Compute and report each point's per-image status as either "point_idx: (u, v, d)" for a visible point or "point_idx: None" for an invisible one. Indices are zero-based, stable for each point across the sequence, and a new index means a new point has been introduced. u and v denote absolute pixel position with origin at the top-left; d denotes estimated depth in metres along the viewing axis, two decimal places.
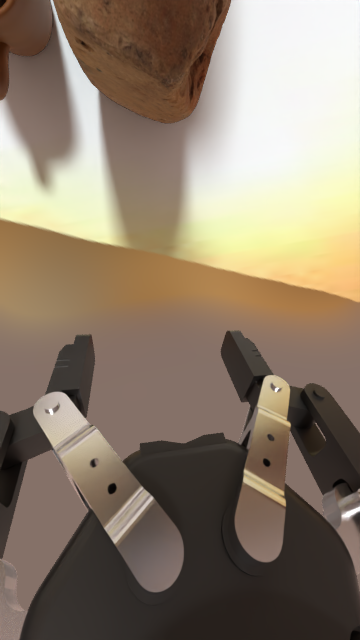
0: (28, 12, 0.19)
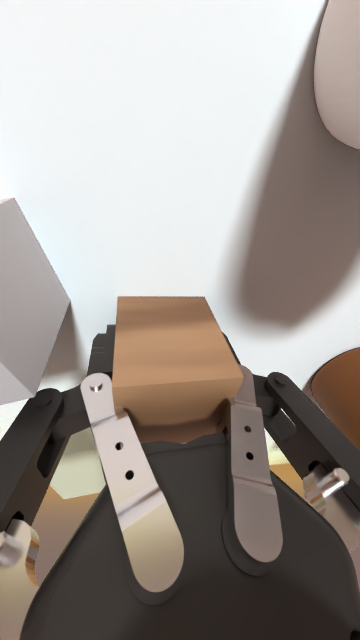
0: None
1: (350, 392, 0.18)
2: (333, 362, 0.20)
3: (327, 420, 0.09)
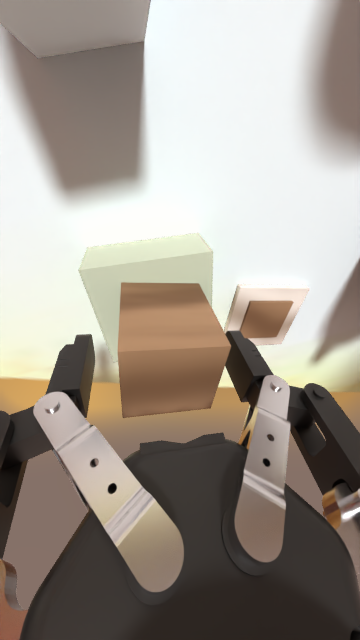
0: None
1: None
2: None
3: None
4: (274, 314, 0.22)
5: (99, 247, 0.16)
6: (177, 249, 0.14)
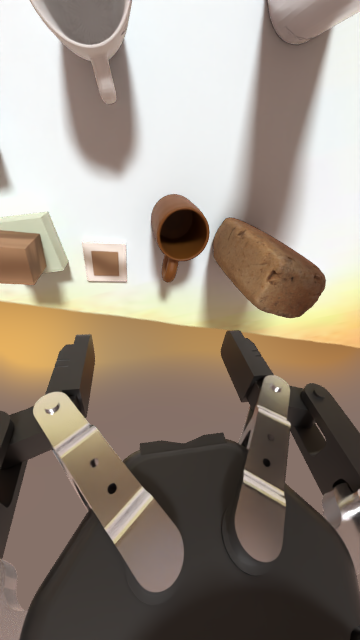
0: None
1: (154, 211, 0.34)
2: None
3: None
4: (109, 259, 0.39)
5: None
6: (28, 217, 0.32)
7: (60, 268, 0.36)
